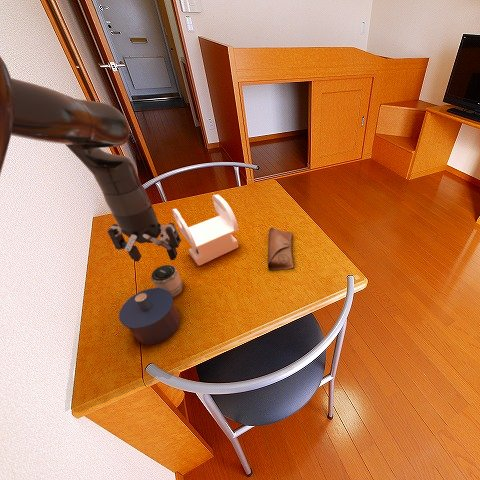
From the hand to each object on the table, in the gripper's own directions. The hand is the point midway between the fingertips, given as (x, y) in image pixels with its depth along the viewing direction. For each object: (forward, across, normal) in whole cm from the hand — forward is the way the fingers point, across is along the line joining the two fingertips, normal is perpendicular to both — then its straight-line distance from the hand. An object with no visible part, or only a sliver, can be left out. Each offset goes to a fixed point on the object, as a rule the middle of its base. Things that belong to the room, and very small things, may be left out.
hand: (156, 258), depth 70 cm
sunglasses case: (+12, +31, +15) cm, 37 cm away
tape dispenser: (+12, +9, +16) cm, 22 cm away
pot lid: (+5, 0, -11) cm, 12 cm away
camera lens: (+13, 0, 0) cm, 13 cm away
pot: (+13, 0, -11) cm, 17 cm away
